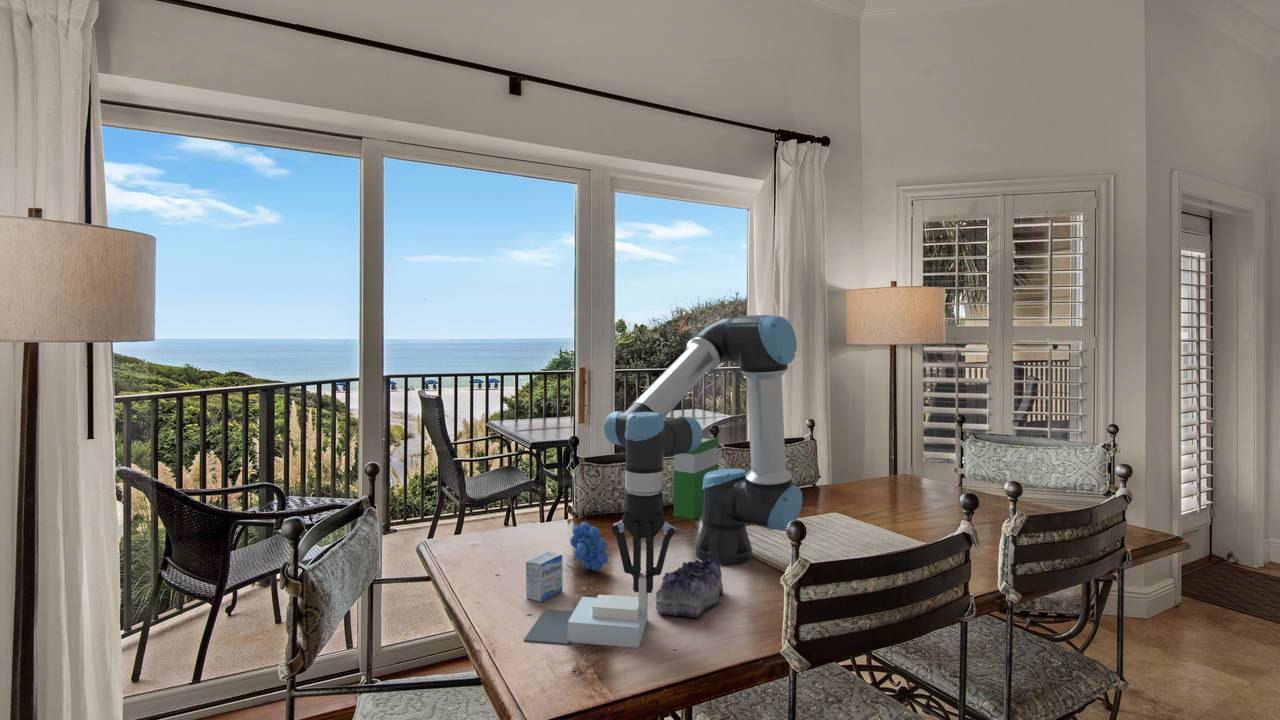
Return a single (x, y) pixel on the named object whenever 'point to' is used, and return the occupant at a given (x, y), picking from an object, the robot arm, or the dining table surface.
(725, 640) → the dining table surface
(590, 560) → the grapes
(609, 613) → the cream rectangular box
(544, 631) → the mat
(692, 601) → the geode
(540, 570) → the medicine box
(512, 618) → the dining table surface
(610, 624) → the block
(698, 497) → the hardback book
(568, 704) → the dining table surface
